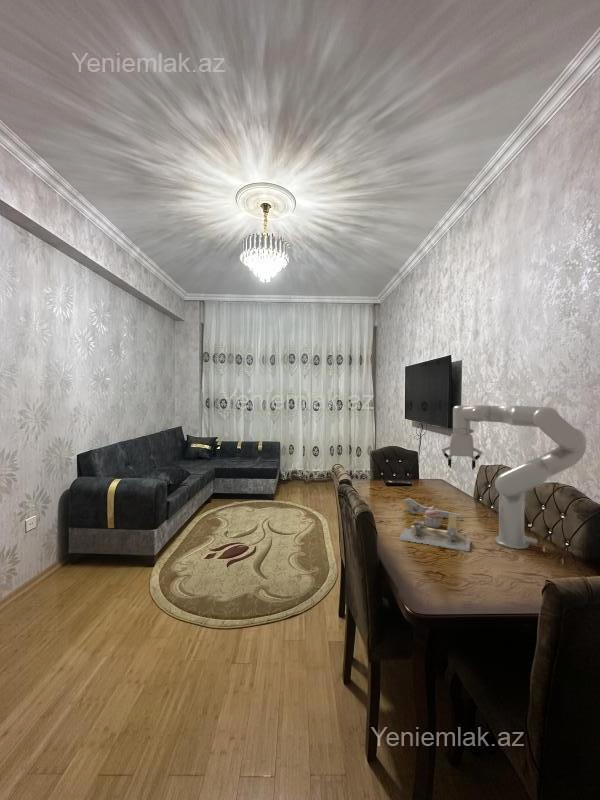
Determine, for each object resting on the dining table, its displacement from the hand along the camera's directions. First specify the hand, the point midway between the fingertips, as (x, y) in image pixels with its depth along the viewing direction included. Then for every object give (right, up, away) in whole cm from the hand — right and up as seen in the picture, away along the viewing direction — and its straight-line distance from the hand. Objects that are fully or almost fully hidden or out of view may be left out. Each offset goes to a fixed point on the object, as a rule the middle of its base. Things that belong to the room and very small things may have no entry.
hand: (461, 468), depth 171 cm
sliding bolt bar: (-15, -28, -10) cm, 33 cm away
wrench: (-5, -31, +24) cm, 40 cm away
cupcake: (-10, -30, +9) cm, 33 cm away
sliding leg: (-10, -28, -12) cm, 32 cm away
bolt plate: (-16, -30, -10) cm, 36 cm away
